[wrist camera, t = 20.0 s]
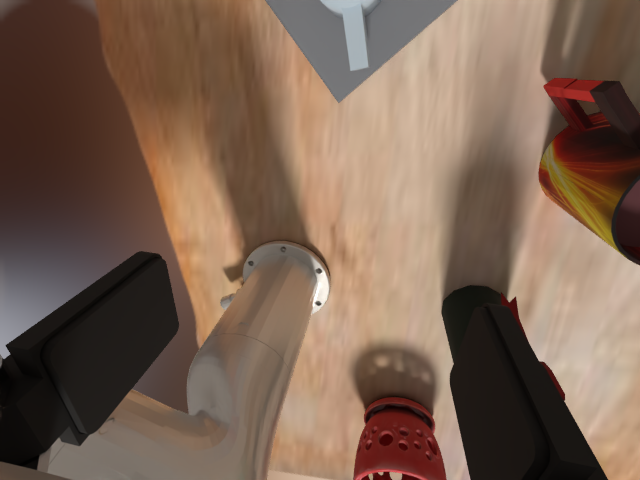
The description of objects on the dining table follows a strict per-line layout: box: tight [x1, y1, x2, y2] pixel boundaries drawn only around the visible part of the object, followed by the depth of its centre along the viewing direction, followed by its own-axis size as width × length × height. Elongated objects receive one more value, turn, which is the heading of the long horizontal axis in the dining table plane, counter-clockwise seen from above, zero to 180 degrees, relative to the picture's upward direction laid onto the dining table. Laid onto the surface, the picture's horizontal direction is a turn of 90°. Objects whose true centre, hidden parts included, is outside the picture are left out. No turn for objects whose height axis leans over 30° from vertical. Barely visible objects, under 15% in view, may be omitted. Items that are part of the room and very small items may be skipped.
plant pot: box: [353, 397, 446, 480], centre depth 49 cm, size 13×13×12 cm
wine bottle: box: [442, 285, 565, 400], centre depth 28 cm, size 8×10×30 cm
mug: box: [539, 78, 640, 265], centre depth 25 cm, size 10×14×12 cm
